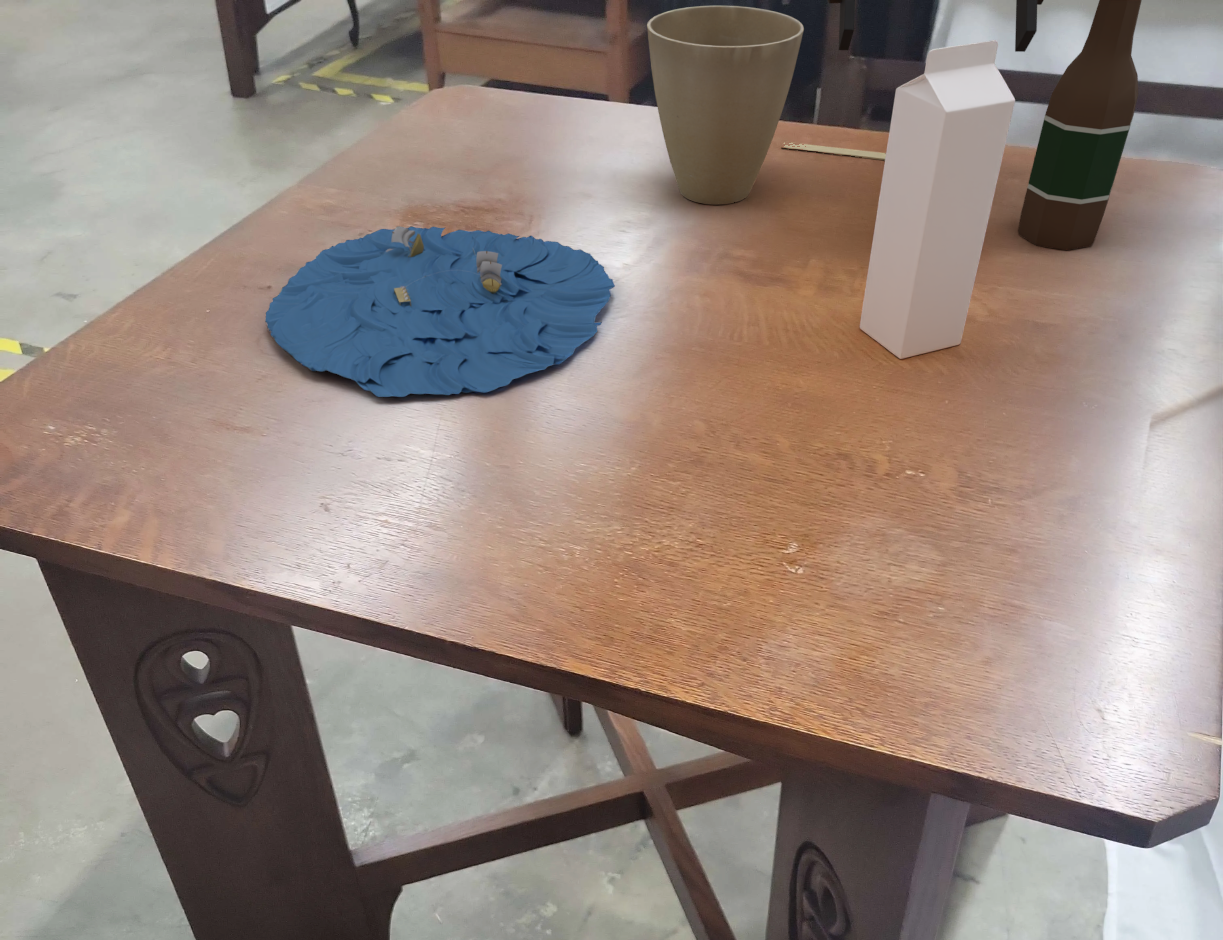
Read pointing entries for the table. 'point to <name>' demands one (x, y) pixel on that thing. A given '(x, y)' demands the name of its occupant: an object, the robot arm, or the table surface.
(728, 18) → the plant pot
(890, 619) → the table surface
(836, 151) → the chopstick
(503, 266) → the blue crumpled disc
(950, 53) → the milk
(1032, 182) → the beer bottle
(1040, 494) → the table surface
